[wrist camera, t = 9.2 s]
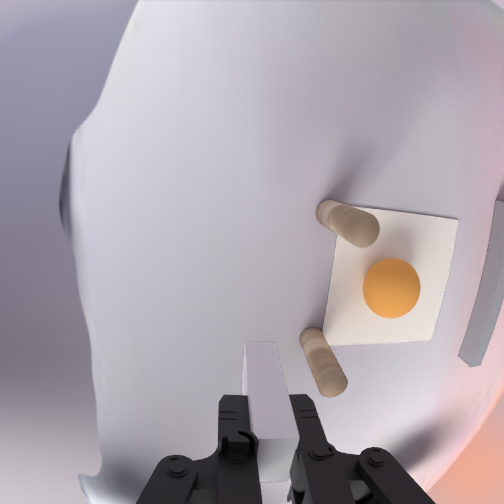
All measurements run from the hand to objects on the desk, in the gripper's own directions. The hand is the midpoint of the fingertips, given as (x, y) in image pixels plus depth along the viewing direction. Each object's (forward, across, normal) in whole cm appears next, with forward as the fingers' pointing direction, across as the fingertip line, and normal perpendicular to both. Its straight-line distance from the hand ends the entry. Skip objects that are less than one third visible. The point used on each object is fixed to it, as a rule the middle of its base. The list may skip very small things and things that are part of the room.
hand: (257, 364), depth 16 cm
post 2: (+14, -7, -6) cm, 17 cm away
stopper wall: (+14, -29, 0) cm, 32 cm away
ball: (+11, -13, 0) cm, 17 cm away
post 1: (+14, -7, +6) cm, 17 cm away
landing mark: (+14, -15, 0) cm, 20 cm away
